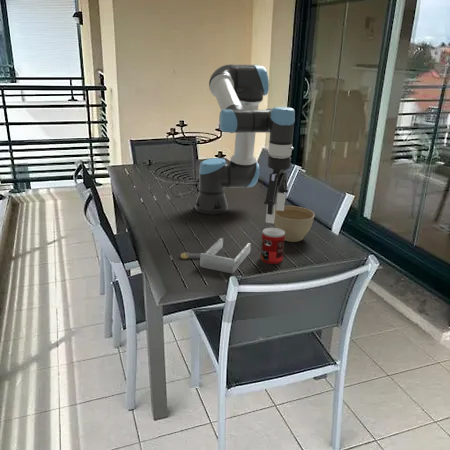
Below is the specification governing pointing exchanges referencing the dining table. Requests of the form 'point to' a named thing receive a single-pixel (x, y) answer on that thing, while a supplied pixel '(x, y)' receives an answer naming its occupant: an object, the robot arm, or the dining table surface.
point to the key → (190, 255)
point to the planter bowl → (294, 222)
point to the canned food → (272, 245)
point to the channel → (222, 258)
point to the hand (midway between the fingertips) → (275, 216)
